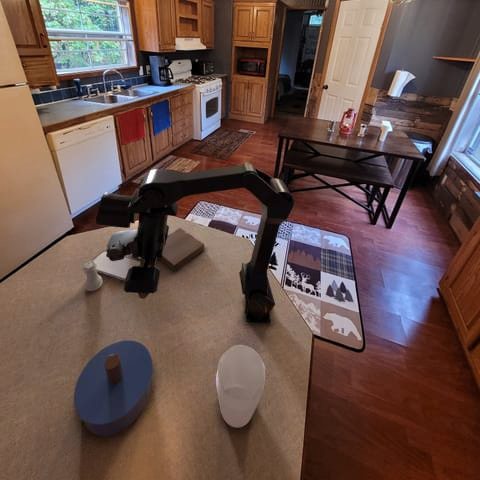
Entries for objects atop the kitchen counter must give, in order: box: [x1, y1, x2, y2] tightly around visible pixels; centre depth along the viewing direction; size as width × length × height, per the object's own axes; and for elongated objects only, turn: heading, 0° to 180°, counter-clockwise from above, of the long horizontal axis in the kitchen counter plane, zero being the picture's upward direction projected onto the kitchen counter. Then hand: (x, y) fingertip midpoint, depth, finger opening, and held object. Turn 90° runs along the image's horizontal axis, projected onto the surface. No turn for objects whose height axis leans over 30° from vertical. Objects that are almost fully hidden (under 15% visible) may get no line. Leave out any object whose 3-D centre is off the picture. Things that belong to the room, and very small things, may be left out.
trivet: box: [158, 227, 205, 272], centre depth 88 cm, size 13×13×2 cm
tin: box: [83, 379, 153, 437], centre depth 50 cm, size 13×13×5 cm
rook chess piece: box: [83, 260, 103, 292], centre depth 72 cm, size 4×4×8 cm
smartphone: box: [92, 251, 142, 282], centre depth 79 cm, size 7×1×15 cm
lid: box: [73, 339, 153, 426], centre depth 48 cm, size 14×14×6 cm
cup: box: [215, 344, 266, 429], centre depth 48 cm, size 9×9×12 cm
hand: (146, 280), depth 60 cm, fingers open, 9 cm apart
